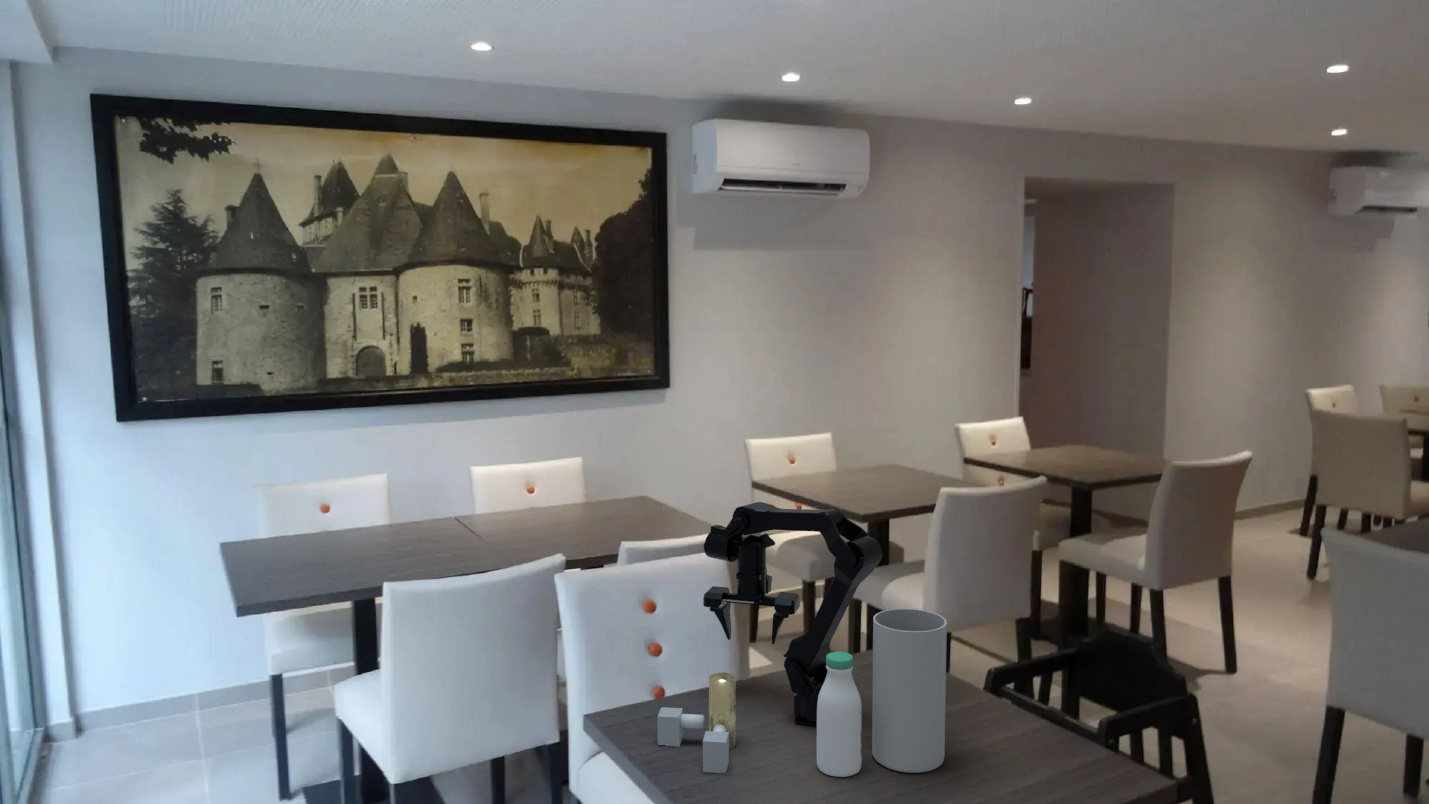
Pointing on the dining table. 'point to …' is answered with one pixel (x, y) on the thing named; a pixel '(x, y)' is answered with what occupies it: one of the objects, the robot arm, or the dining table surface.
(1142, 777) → the dining table surface
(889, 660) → the cylinder vase
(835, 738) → the milk bottle
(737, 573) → the robot arm
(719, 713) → the olive pillar candle
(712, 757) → the shaft on bearing block
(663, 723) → the shaft on bearing block
